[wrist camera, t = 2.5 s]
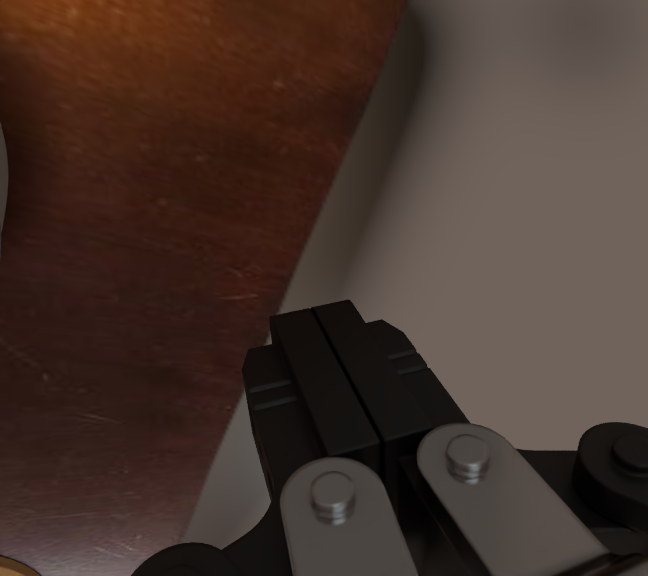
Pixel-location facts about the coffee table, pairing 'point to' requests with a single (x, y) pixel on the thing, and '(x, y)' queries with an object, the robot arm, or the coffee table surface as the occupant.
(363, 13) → the coffee table surface
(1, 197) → the teacup
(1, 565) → the coaster
